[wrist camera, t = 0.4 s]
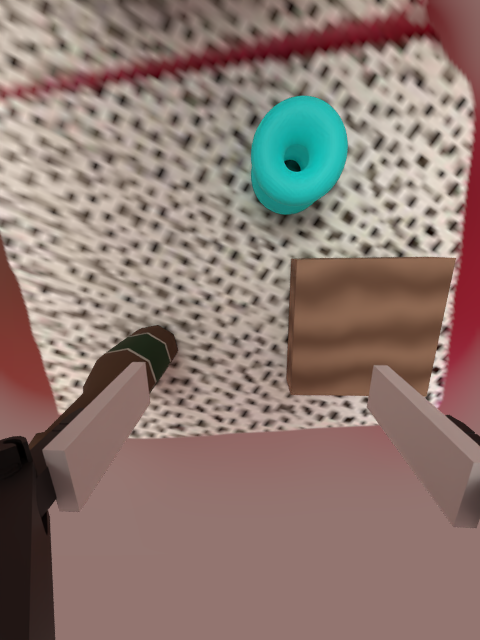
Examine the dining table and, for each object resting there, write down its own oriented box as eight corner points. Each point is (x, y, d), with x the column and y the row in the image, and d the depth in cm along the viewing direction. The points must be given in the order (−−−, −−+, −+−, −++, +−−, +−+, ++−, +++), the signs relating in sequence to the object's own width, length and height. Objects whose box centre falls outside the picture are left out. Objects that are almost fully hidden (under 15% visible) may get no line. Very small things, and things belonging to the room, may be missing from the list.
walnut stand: (291, 258, 38) (297, 259, 33) (429, 256, 37) (455, 258, 32) (286, 378, 43) (290, 394, 38) (406, 379, 42) (426, 396, 37)
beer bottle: (132, 361, 43) (-3, 489, 20) (135, 319, 41) (-12, 408, 18) (176, 370, 43) (92, 507, 20) (182, 328, 41) (94, 428, 18)
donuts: (297, 62, 23) (373, 139, 25) (284, 117, 33) (339, 170, 34) (231, 158, 26) (303, 224, 27) (236, 183, 35) (289, 230, 37)
